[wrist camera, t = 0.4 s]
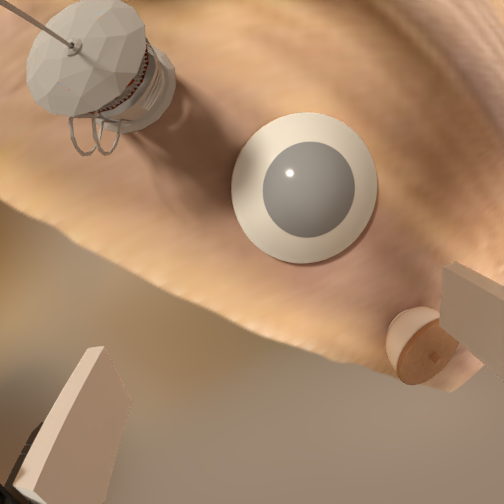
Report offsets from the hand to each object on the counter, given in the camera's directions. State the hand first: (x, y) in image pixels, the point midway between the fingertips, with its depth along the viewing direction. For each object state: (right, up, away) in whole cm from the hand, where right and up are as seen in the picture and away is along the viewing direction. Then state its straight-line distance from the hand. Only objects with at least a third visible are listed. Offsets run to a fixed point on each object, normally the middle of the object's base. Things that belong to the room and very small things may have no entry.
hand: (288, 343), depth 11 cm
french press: (-14, +19, +16) cm, 28 cm away
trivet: (+4, +10, +22) cm, 25 cm away
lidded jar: (+22, -8, +32) cm, 39 cm away
